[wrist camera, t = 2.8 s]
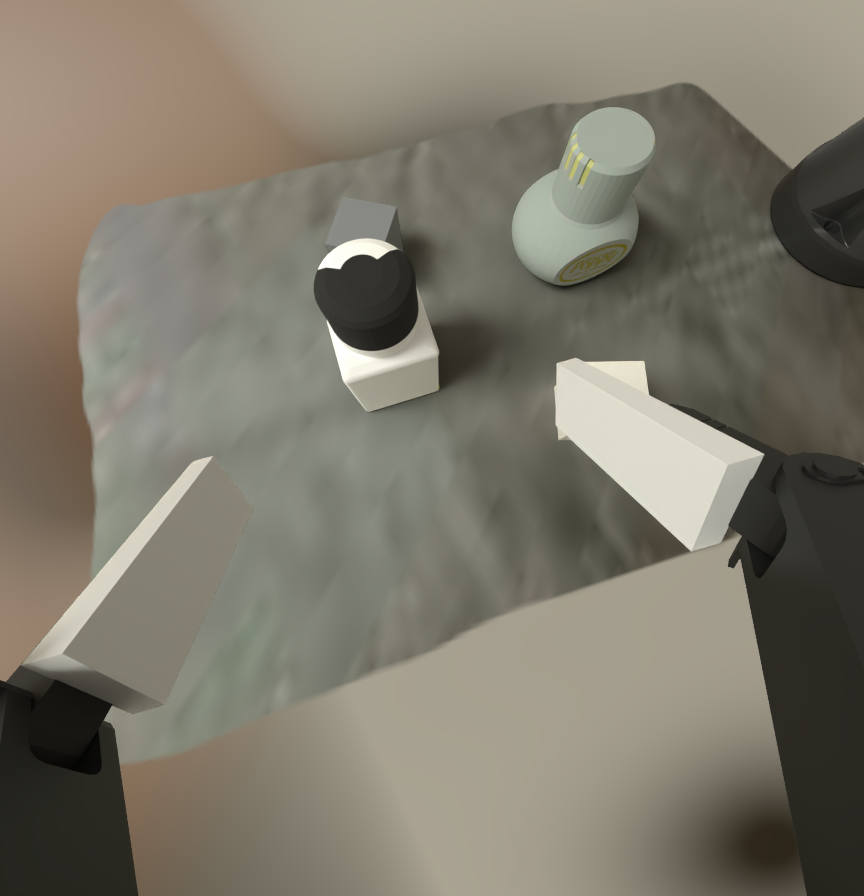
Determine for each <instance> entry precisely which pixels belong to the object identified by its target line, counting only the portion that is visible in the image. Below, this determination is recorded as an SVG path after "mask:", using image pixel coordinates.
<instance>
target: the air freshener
mask: <svg viewBox="0 0 864 896" xmlns="http://www.w3.org/2000/svg"><path fill="white" fill-rule="evenodd" d="M655 144H656V140H655V136H654V132H653V129H652V127H651V126H650V124H649V123H648V122H647V121H646V119H644V118H643V117H642V116H641V115H639V114H637V113H636V112H633V111H631V110H628V109H624V108H618V107H608V108H602V109H598V110H596V111H593V112H591V113H590V114H588V115H587V116H585V117H583V118H582V119H581V120H580V121H579V122H578V123H577V124H576V125H575V127H574V129H573V131H572V134H571V136H570V139H569V142H568V145H567V148H566V150H565V153H564V156H563V159H562V162H561V164H560V167H559V169H557V170H555V171H553V172H551V173H549V174H547V175H546V176H544V177H543V178H541V179H540V180H538V181H537V182H536V183H534V184H533V185H532V186H531V187H530V188H529V189H528V190H527V191H526V192H525V193H524V195H523V196H522V198H521V200H520V202H519V203H518V205H517V208H516V211H515V214H514V217H513V224H512V239H513V244H514V247H515V250H516V253H517V255H518V257H519V259H520V260H521V262H522V263H523V264H524V266H525V267H526V268H527V269H528V270H529V271H530V272H531V273H532V274H534V275H535V276H537V277H538V278H540V279H542V280H544V281H546V282H549V283H552V284H556V285H571V284H576V283H579V282H582V281H585V280H587V279H590V278H592V277H594V276H596V275H598V274H600V273H602V272H604V271H606V270H607V269H609V268H611V267H612V266H614V265H615V264H617V263H618V262H619V261H621V260H622V259H623V258H624V257H625V256H626V255H627V254H628V253H629V251H630V250H631V248H632V246H633V244H634V242H635V239H636V235H637V231H638V223H639V215H638V209H637V204H636V201H635V199H634V196H633V194H632V191H633V190H634V188H635V186H636V185H637V183H638V181H639V180H640V178H641V176H642V175H643V173H644V171H645V170H646V168H647V166H648V164H649V163H650V161H651V159H652V158H653V156H654V153H655V149H656V147H655Z"/></svg>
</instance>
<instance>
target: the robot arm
mask: <svg viewBox="0 0 864 896" xmlns="http://www.w3.org/2000/svg"><path fill="white" fill-rule="evenodd" d="M771 216H772V221H773V225H774V228H775V230H776V233H777V235H778V237H779V238H780V240H781V242H782V243H783V245H784V246H785V247H786V249H787V250H788V251H789V252H790V253H791V254H792V255H793V256H794V257H795V258H796V259H797V260H798V261H799V262H801V263H802V264H803V265H805V266H806V267H807V268H809V269H811V270H812V271H814V272H816V273H817V274H819V275H821V276H823V277H826V278H828V279H831V280H833V281H836V282H839V283H843V284H847V285H852V286H859V287H864V118H862V119H861V120H860V121H858V122H856V123H855V124H854V125H852V126H851V127H849V128H848V129H847V130H845V131H844V132H842V133H841V134H839V135H838V136H836V137H835V138H833V139H832V140H830V141H828V142H826V143H824V144H823V145H821V146H819V147H818V148H816V149H815V150H814V151H812V152H811V153H810V154H809V155H808V156H806V157H805V158H804V159H803V160H802V161H801V162H800V163H799V164H798V165H797V166H796V167H795V168H794V169H793V170H792V171H791V172H790V173H789V174H788V175H787V176H785V177H784V178H783V180H782V181H781V182H780V183H779V185H778V186H777V188H776V190H775V192H774V195H773V198H772V203H771ZM556 426H557V427H558V428H559V429H560V430H561V431H562V432H563V433H564V434H566V435H567V436H568V437H569V438H570V439H571V440H572V441H573V442H574V443H575V444H576V445H577V446H578V447H580V448H581V449H582V450H583V451H584V452H585V453H586V454H587V455H588V456H589V457H590V458H591V459H592V460H593V461H595V462H596V463H597V464H598V465H599V466H600V467H601V468H602V469H603V470H604V471H605V472H606V473H607V474H609V475H610V476H611V477H612V478H613V479H614V480H615V481H616V482H617V483H618V484H619V485H620V486H621V487H622V488H624V489H625V490H626V491H627V492H628V493H629V494H630V495H631V496H632V497H633V498H634V499H635V500H636V501H638V502H639V503H640V504H641V505H642V506H643V507H644V508H645V509H646V510H647V511H648V512H649V513H650V514H651V515H653V516H654V517H655V518H656V519H657V520H658V521H659V522H660V523H661V524H662V525H663V526H664V527H665V528H667V529H668V530H669V531H670V532H671V533H672V534H673V535H674V536H675V537H676V538H677V539H678V540H679V541H680V542H682V543H683V544H684V545H685V546H686V547H687V548H688V549H689V550H690V551H691V552H692V551H695V550H699V549H702V548H705V547H709V546H712V545H716V544H719V543H721V541H722V539H723V537H724V535H725V533H726V531H727V529H728V527H729V526H730V527H731V528H732V529H734V530H735V531H736V532H738V533H739V534H740V535H742V537H741V539H740V541H739V542H738V544H737V546H736V548H735V550H734V552H733V553H732V555H731V557H730V559H729V563H728V567H731V568H734V567H735V565H736V564H737V562H738V560H739V559H741V563H742V568H743V573H744V578H745V583H746V588H747V593H748V598H749V604H750V609H751V614H752V618H753V624H754V629H755V634H756V639H757V644H758V649H759V654H760V659H761V664H762V670H763V675H764V680H765V685H766V689H767V695H768V700H769V704H770V710H771V715H772V720H773V725H774V731H775V736H776V740H777V746H778V751H779V756H780V761H781V766H782V771H783V776H784V781H785V786H786V791H787V796H788V801H789V807H790V812H791V817H792V821H793V827H794V832H795V837H796V842H797V847H798V852H799V857H800V862H801V868H802V873H803V878H804V883H805V888H806V893H807V896H864V465H863V464H861V463H858V462H855V461H852V460H849V459H845V458H842V457H839V456H833V455H827V454H821V453H800V454H795V455H790V456H788V455H786V454H784V453H782V452H780V451H778V450H776V449H774V448H772V447H770V446H768V445H766V444H764V443H762V442H760V441H757V440H755V439H753V438H751V437H749V436H747V435H745V434H743V433H741V432H739V431H737V430H735V429H733V428H731V427H728V428H727V427H726V425H725V424H722V423H720V422H718V421H716V420H711V418H710V417H708V416H706V415H704V414H702V413H700V412H698V411H696V410H694V409H690V408H686V407H682V406H678V405H674V404H669V405H667V404H665V403H663V402H662V401H660V400H658V399H656V398H654V397H652V396H650V395H648V394H646V393H644V392H642V391H640V390H638V389H636V388H634V387H632V386H630V385H628V384H626V383H624V382H622V381H620V380H619V379H617V378H615V377H613V376H611V375H609V374H607V373H605V372H603V371H601V370H599V369H597V368H595V367H593V366H591V365H589V364H587V363H585V362H583V361H581V360H579V359H577V358H574V359H570V360H567V361H563V362H559V363H557V383H556ZM252 511H253V507H252V506H251V505H250V503H249V502H248V501H247V499H246V498H245V497H244V495H243V494H242V493H241V491H240V490H239V489H238V488H237V486H236V485H235V484H234V482H233V481H232V480H231V478H230V477H229V476H228V474H227V473H226V472H225V470H224V469H223V468H222V466H221V465H220V464H219V462H218V461H217V460H216V459H215V457H214V456H211V457H208V458H204V459H200V460H197V461H193V462H192V463H191V464H190V465H189V467H188V468H187V469H186V470H185V471H184V473H183V474H182V475H181V476H180V477H179V478H178V480H177V481H176V482H175V483H174V484H173V486H172V487H171V488H170V489H169V490H168V492H167V493H166V494H165V495H164V496H163V497H162V499H161V500H160V501H159V502H158V503H157V505H156V506H155V507H154V508H153V509H152V510H151V512H150V513H149V514H148V515H147V516H146V518H145V519H144V520H143V521H142V522H141V523H140V525H139V526H138V527H137V528H136V529H135V531H134V532H133V533H132V534H131V535H130V536H129V538H128V539H127V540H126V541H125V542H124V544H123V545H122V546H121V547H120V548H119V549H118V551H117V552H116V553H115V554H114V555H113V557H112V558H111V559H110V560H109V561H108V563H107V564H106V565H105V566H104V567H103V568H102V570H101V571H100V572H99V573H98V574H97V576H95V577H94V579H93V580H92V581H91V582H90V583H89V585H88V586H87V587H86V588H85V589H84V591H83V592H82V593H81V594H80V595H79V597H78V598H77V599H76V600H75V601H74V602H73V603H72V605H71V606H70V607H69V608H68V609H67V611H66V612H65V614H64V615H63V616H62V617H61V618H60V619H59V620H58V621H57V622H56V624H55V625H54V626H53V627H52V628H51V629H50V631H49V632H48V633H47V634H46V636H45V637H44V638H43V639H42V640H41V641H40V642H39V644H38V645H37V646H36V647H35V648H34V650H33V651H32V652H31V653H30V654H29V656H28V657H27V658H26V659H25V660H24V661H23V663H22V664H21V665H20V666H19V667H18V669H17V670H16V671H15V672H14V673H13V674H12V676H11V677H10V678H9V679H8V680H7V681H6V682H4V681H1V680H0V896H138V891H137V884H136V877H135V870H134V862H133V857H132V856H133V855H132V848H131V841H130V835H129V828H128V821H127V814H126V807H125V800H124V793H123V786H122V779H121V772H120V765H119V758H118V751H117V744H116V737H115V730H114V728H113V726H112V725H111V723H108V722H105V721H103V720H104V719H105V717H106V715H107V713H108V712H109V710H110V708H111V706H115V707H117V708H119V709H122V710H124V711H126V712H128V713H131V714H135V713H138V712H142V711H145V710H148V709H152V708H155V707H159V706H162V705H165V703H166V701H167V698H168V696H169V694H170V692H171V690H172V687H173V685H174V683H175V681H176V679H177V676H178V674H179V672H180V670H181V668H182V665H183V663H184V661H185V659H186V657H187V654H188V652H189V650H190V648H191V646H192V643H193V641H194V639H195V637H196V634H197V632H198V630H199V628H200V626H201V623H202V621H203V619H204V617H205V615H206V612H207V610H208V608H209V606H210V604H211V601H212V599H213V597H214V595H215V593H216V590H217V588H218V586H219V584H220V581H221V579H222V577H223V575H224V573H225V570H226V568H227V566H228V564H229V562H230V559H231V557H232V555H233V553H234V551H235V548H236V546H237V544H238V542H239V540H240V537H241V535H242V533H243V531H244V529H245V526H246V524H247V522H248V520H249V517H250V515H251V513H252Z"/></svg>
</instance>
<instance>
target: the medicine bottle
mask: <svg viewBox="0 0 864 896" xmlns="http://www.w3.org/2000/svg"><path fill="white" fill-rule="evenodd" d="M314 294H315V299H316V302H317V304H318V306H319V308H320V309H321V311H322V313H323V314H324V316H325V318H326V320H327V323H328V327H329V331H330V334H331V338H332V342H333V345H334V349H335V353H336V356H337V360H338V364H339V367H340V371H341V375H342V378H343V381H344V383H345V384H346V385H347V386H348V388H349V389H350V390H351V392H352V393H353V394H354V396H355V397H356V398H357V400H358V401H359V402H360V403H361V405H362V406H363V407H364V409H365V410H366V411H368V412H371V411H374V410H377V409H381V408H384V407H387V406H390V405H394V404H397V403H400V402H403V401H407V400H410V399H413V398H416V397H420V396H423V395H426V394H429V393H433V392H436V391H438V390H439V388H440V371H439V349H438V346H437V343H436V341H435V338H434V335H433V332H432V329H431V326H430V323H429V320H428V318H427V315H426V312H425V309H424V306H423V303H422V300H421V297H420V295H419V292H418V289H417V286H416V278H415V272H414V269H413V266H412V264H411V262H410V261H409V259H408V258H407V257H406V255H405V254H404V253H403V252H402V251H401V250H399V249H398V248H396V247H395V246H393V245H391V244H389V243H387V242H384V241H381V240H377V239H370V238H365V239H356V240H352V241H349V242H346V243H343V244H342V245H340V246H338V247H336V248H335V249H334V250H332V251H331V252H330V253H329V254H328V255H327V256H326V257H325V258H324V260H323V261H322V263H321V265H320V266H319V268H318V271H317V273H316V276H315V280H314Z"/></svg>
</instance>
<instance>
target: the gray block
mask: <svg viewBox="0 0 864 896" xmlns="http://www.w3.org/2000/svg"><path fill="white" fill-rule="evenodd" d="M365 238H370V239H377V240H381V241H384V242H387V243H389V244H391V245H393V246H395V247H396V248H398V249H399V250H401V251H402V252H403V246H402V239H401V232H400V225H399V219H398V212H397V207H395V206H389V205H384V204H379V203H373V202H368V201H363V200H357V199H352V198H347V197H342V199H341V202H340V204H339V207H338V210H337V212H336V215H335V218H334V220H333V223H332V226H331V228H330V231H329V234H328V236H327V239H326V242H325V246H326V248H327V250H328V253H330V252H331V251H332V250H334V249H335V248H336V247H338V246H340V245H342V244H343V243H346V242H349V241H352V240H356V239H365ZM403 253H404V252H403Z"/></svg>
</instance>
